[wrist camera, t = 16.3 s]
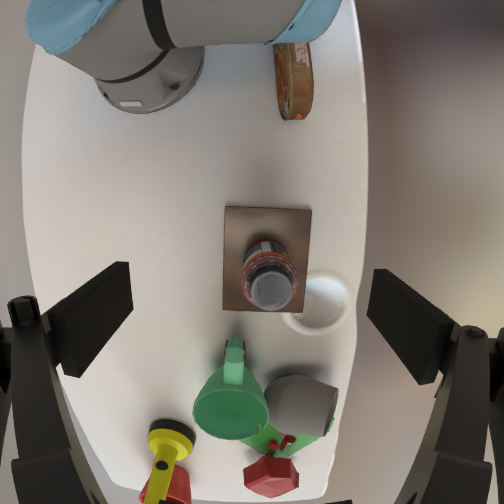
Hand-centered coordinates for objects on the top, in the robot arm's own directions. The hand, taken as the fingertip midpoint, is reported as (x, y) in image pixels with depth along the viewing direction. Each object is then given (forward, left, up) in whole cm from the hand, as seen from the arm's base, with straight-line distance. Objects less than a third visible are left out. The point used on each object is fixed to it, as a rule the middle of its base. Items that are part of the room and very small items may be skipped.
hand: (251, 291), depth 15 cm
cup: (+25, +4, -21) cm, 33 cm away
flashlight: (+39, -13, -24) cm, 47 cm away
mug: (+20, -1, -24) cm, 32 cm away
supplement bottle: (+4, +2, -24) cm, 24 cm away
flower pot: (+54, -15, -24) cm, 61 cm away
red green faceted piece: (+38, +7, -24) cm, 46 cm away
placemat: (+5, +2, -24) cm, 25 cm away
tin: (-21, +4, -24) cm, 32 cm away
